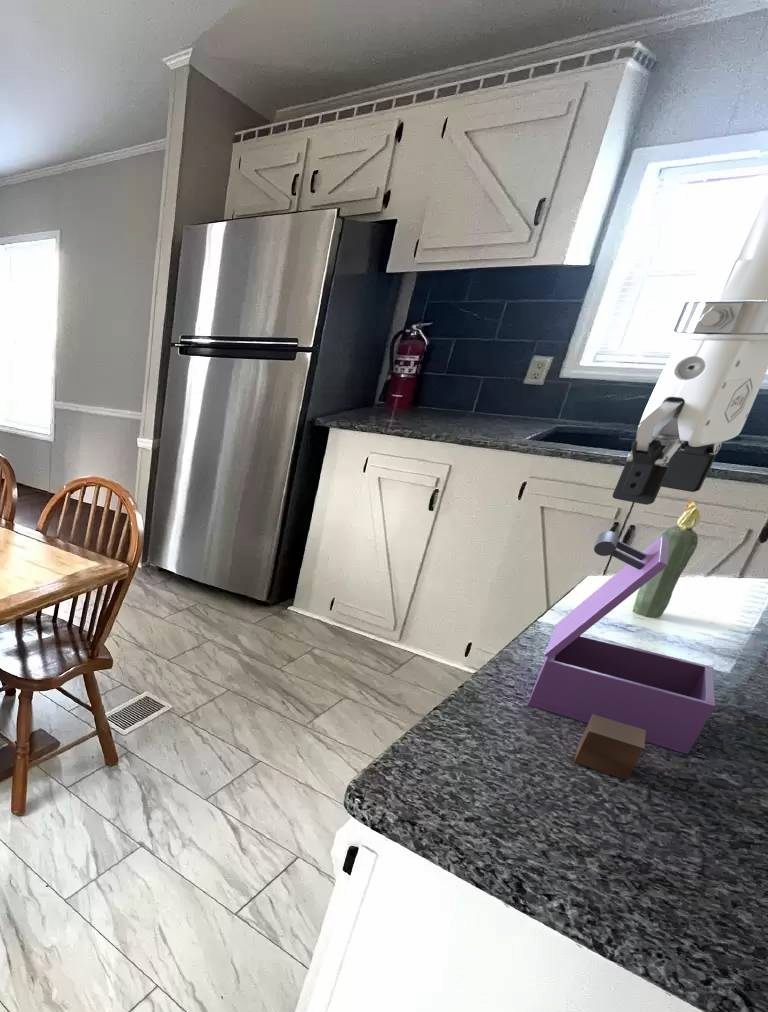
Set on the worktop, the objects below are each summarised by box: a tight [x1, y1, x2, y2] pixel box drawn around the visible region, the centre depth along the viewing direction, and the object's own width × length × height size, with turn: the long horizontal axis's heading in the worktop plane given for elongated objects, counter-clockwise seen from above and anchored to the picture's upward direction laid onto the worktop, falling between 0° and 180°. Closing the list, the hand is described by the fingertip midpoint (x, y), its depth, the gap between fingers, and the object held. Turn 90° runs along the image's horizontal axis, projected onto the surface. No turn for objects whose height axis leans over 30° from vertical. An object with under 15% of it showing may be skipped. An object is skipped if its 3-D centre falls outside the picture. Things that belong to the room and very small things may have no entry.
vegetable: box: [632, 499, 701, 619], centre depth 96 cm, size 4×4×20 cm
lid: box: [543, 530, 669, 659], centre depth 78 cm, size 15×11×6 cm
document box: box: [526, 634, 716, 755], centre depth 79 cm, size 14×11×7 cm
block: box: [573, 714, 646, 781], centre depth 71 cm, size 4×4×4 cm
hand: (655, 494), depth 68 cm, fingers open, 9 cm apart
